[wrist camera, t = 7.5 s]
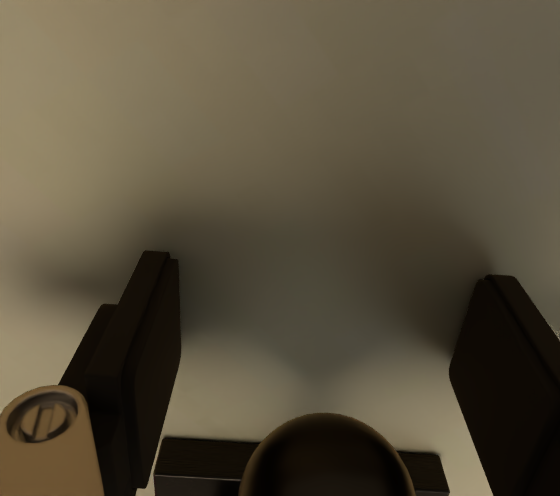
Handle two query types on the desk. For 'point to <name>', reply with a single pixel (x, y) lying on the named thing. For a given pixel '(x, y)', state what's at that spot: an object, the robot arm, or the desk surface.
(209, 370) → the desk surface
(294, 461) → the switch lever
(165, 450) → the switch bracket
